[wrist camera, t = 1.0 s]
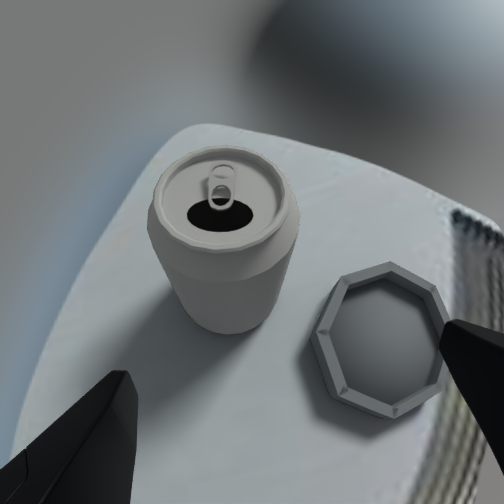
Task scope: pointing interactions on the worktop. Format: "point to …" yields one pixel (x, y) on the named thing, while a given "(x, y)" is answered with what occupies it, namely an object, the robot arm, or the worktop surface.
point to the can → (224, 235)
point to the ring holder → (382, 341)
